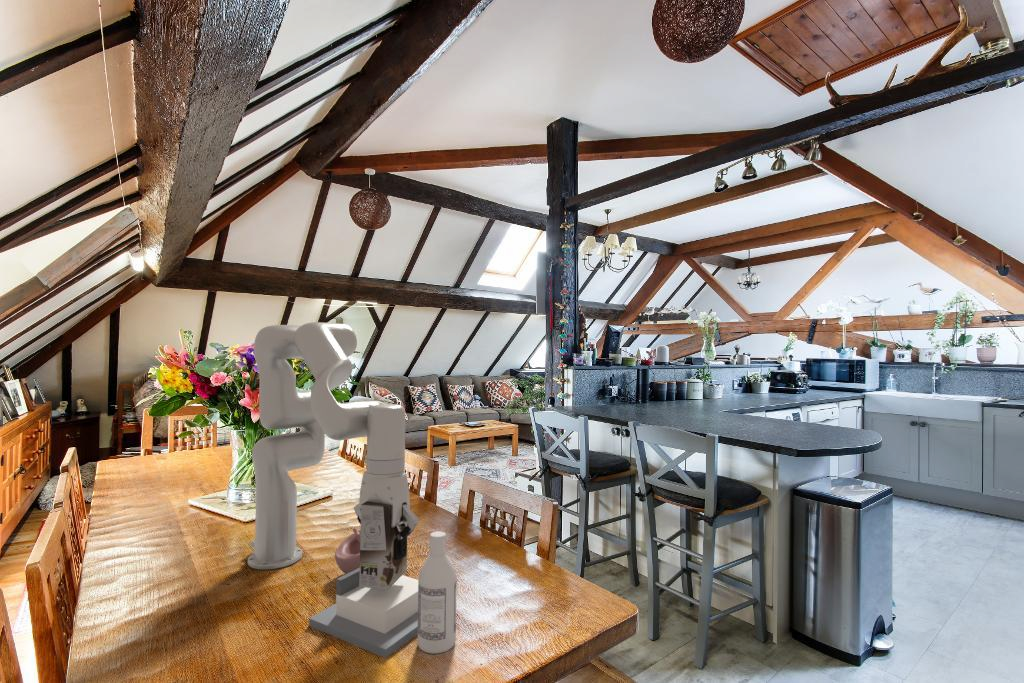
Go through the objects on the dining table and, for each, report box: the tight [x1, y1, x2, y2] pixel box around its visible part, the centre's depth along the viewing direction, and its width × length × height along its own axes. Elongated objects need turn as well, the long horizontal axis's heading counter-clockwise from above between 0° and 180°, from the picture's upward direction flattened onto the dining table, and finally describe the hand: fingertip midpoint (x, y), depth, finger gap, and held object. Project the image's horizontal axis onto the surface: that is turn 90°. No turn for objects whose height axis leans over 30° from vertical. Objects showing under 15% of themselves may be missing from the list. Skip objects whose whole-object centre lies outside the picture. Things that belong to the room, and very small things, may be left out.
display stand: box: [308, 568, 419, 659], centre depth 101 cm, size 20×20×8 cm
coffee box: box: [359, 501, 408, 590], centre depth 101 cm, size 9×6×16 cm
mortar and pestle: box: [334, 527, 361, 575], centre depth 119 cm, size 12×12×12 cm
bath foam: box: [417, 530, 458, 655], centre depth 92 cm, size 7×7×20 cm
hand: (384, 552), depth 101 cm, fingers closed on coffee box, 7 cm apart
